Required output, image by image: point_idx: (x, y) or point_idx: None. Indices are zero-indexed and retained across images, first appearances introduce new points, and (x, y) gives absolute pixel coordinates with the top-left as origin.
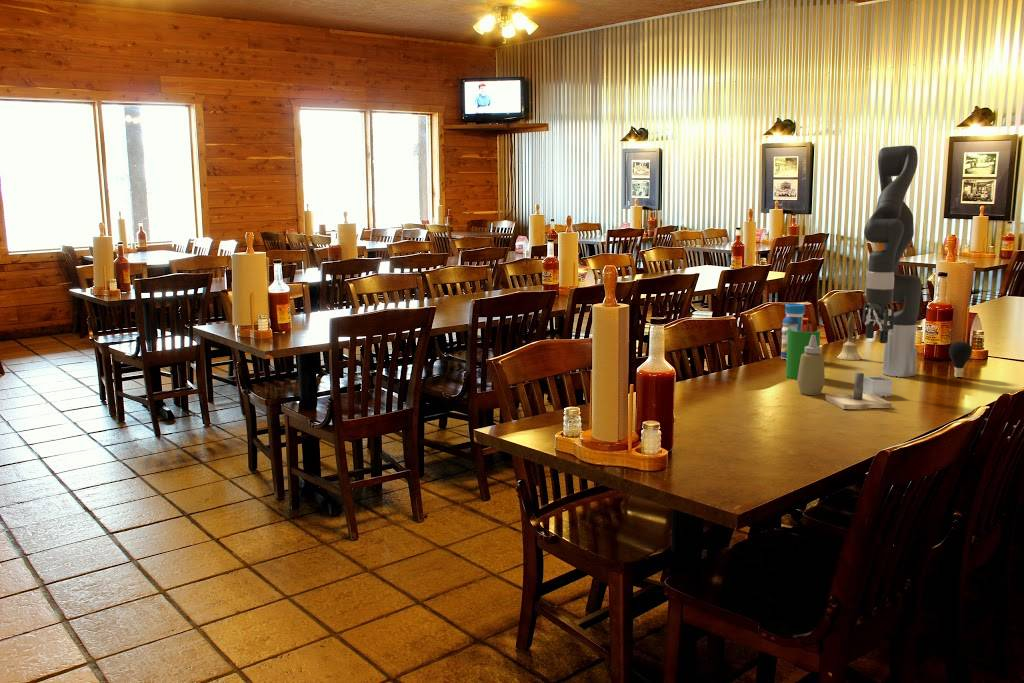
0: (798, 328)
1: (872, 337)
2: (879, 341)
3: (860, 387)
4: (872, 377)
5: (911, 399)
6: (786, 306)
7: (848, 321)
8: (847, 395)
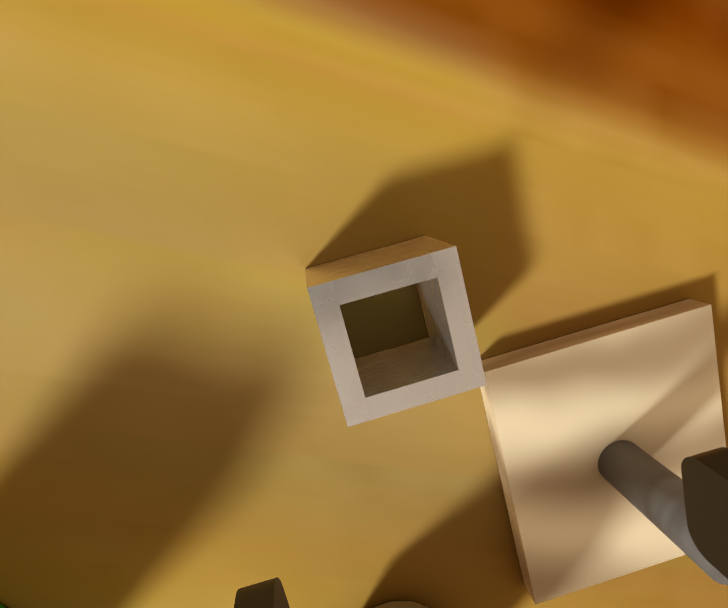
0: None
1: (279, 592)
2: (711, 557)
3: None
4: (355, 364)
5: (479, 124)
6: None
7: None
8: (545, 502)
